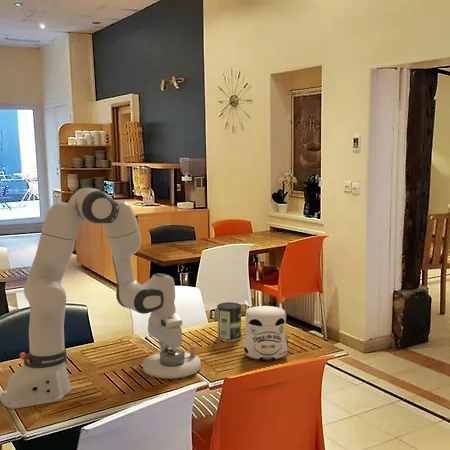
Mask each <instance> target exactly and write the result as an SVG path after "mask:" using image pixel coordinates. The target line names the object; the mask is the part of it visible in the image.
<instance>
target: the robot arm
mask: <svg viewBox="0 0 450 450" xmlns="http://www.w3.org/2000/svg"><path fill="white" fill-rule="evenodd" d="M84 222H89V223H92V224H98V225H99V224H103V225H104V228H105V231H106V234H107V237H108V242H109V246H110V250H111V258H112V264H113V268H114V274H115V278H116V291H115V292H116V294H115V296H116V300H117V302H118V304H119V305H120V306H121V307H123V308H125V309H126V308H127V309H130V310H132V311H133V312H136V313H139V314H141V315H142V314H143V315H147V314H149V313H150V314H149V317H148V321H147V323H148V324H147V333H148V335H149V336H151V337H153V338H154V339H155V340H157V341H158V345H159V348H160V349H159V351H160V352H161V351H163V350H166V349H178V348H180V347H181V346H182V343H183V341H182V340H183V331H182V327H181V326H182V325H183V320H182V318H181V317H180V316H179V314H178V312H176V304H175V299H176V286H175V285H176V284H175V281H174V280H175V279H174V277H173V276H171V275H169V274H166V273H153V274H152V276H151V278H149V279H148V280H147V281H146V282H144V283H142V284H140V283H139V282H138V281H137V279H136V278H135V275H134V271H133V267H132V259H131V258H132V256H133V255H135V254H136V253H137V252H138V251H140V249H141V246H142V235H141V234H142V233H141V229H140V227H139V223H138V221H137V217H136V215H135V212H134V210H133V208H132V206H131V205H130V203H129V202H127V201H126V200H121V199H120V200H119V199H118V200H115V199H113V198H112V196H111V195H109V194H108V193H106V191H105V192H104V191H102V190H100V189H98V188H94V187H89V186H82V187H79V188H76V189H75V190H74V191H72V193H71V194H70V195H69V197H68V198H67V199H66V200H65V201H64V202H63V201H62V202H60V201H59V202H56V203H53V204H52V205H50V208H49V210H48V212H47V214H46V216H45V220H44V222H43V225H42V229H41V232H40V236H39V241H38V245H37V249H36V253H35V256H34V258H33V261H32V264H31V267H30V269H29V272H28V275H27V278H26V280H25V282H24V285H23V286H24V287H23V294H24V297H25V299H26V300H27V302H28V304H29V326H28V343H29V351H28V353H26V352H20V353H19V358H20V359H21V360H22V361H23V365H21V366H20V368H19V369H17V370H16V371H14V373H12V374H11V375H10V376H9V378H8V380H7V384H6V389H4V390H2V391H1V392H0V403H1V404H2V406H4V407H6V408H8V409H13V410H16V409H21V408H27V407H33V406H38V405H42V404H43V405H44V404H49V403H55V402H60V401H62V399H63V398H64V397H65V396H66V395H68V394H69V393H70V392H71V391H72V384H71V383H70V380H69V376H68V371H67V370H68V369H67V363H68V362H67V360H68V356H67V355H68V354H67V350H66V347H65V329H64V328H65V326H64V325H65V318H66V317H65V315H66V304H67V296H66V290H65V289H64V287H63V286H62V285H61V284H62V280H63V277H64V275H65V272H66V270H67V269H68V267H69V266H70V264H71V260H72V256H73V252H74V247H75V244H76V239H77V234H78V231H79V228H80V227H81V225H82V224H83V223H84Z"/></svg>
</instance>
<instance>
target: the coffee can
mask: <svg viewBox="0 0 450 450" xmlns="http://www.w3.org/2000/svg"><path fill="white" fill-rule="evenodd" d="M216 307H217V339H218V340H219V341H222V342H236V341H240V340H241V339H242V304H240V303H238V302H232V301H231V302H222V303H219V304H217V306H216Z"/></svg>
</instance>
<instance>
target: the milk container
mask: <svg viewBox="0 0 450 450" xmlns="http://www.w3.org/2000/svg"><path fill="white" fill-rule="evenodd" d="M286 318H287V317H286V310H285V309H283V308H282V307H278V306H272V305H271V306H270V305H258V306H252V307H249V308H247V309H246V310H245V318H244V320H245V327H244V328H245V331H244V337H243V343H242V348H243V353H244V355H245V356H247V357H248V358H249V359H251V360H255V361H261V362H273V361H279V360H281V359H283V358H284V357H285V356H286V355H287V353H288V349H289V348H288V347H289V342H288V338H287V332H286V331H287V330H286V328H287V322H286Z"/></svg>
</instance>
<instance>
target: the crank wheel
mask: <svg viewBox="0 0 450 450" xmlns="http://www.w3.org/2000/svg"><path fill="white" fill-rule="evenodd" d="M196 351H197V350H196V345H194V344H193V345H190V346H189V352H186V351H184V352H185V363H184V364H182V365H180V366H175V367H167V366H163V365H161V364H160V352H158V353H155V354H152V355H150V356H147V357H146V358H145V359H144V360H143V361H142V371H143V372H144V373H145V374H146V375H148V376H151V377H153V378H158V379H180V378H185V377H189V376H192V375H193V374H196V373H197V372H198V371H200V369H201V366H202V365H201V359H200V357H199V356H198V355H196Z"/></svg>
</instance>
